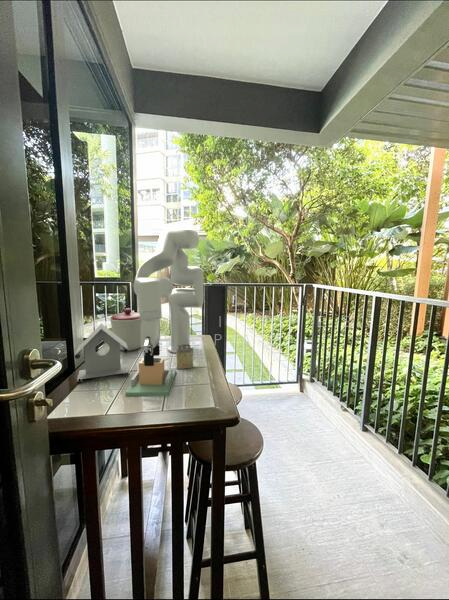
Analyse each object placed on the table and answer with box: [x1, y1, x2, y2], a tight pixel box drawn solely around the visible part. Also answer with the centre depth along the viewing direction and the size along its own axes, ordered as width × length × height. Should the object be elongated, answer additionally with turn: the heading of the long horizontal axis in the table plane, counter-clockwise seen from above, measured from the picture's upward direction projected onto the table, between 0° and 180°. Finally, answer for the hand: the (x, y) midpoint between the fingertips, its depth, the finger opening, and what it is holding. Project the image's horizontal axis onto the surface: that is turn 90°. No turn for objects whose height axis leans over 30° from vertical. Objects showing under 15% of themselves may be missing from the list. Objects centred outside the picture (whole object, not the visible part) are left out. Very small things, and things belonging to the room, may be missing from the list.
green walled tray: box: [125, 368, 177, 397], centre depth 101 cm, size 20×14×4 cm
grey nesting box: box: [74, 323, 130, 382], centre depth 106 cm, size 18×10×20 cm, turn 114°
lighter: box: [176, 344, 194, 370], centre depth 115 cm, size 7×4×10 cm, turn 110°
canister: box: [108, 307, 142, 352], centre depth 140 cm, size 18×18×21 cm
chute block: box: [138, 357, 166, 385], centre depth 98 cm, size 5×8×8 cm, turn 91°
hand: (152, 360), depth 99 cm, fingers open, 9 cm apart
